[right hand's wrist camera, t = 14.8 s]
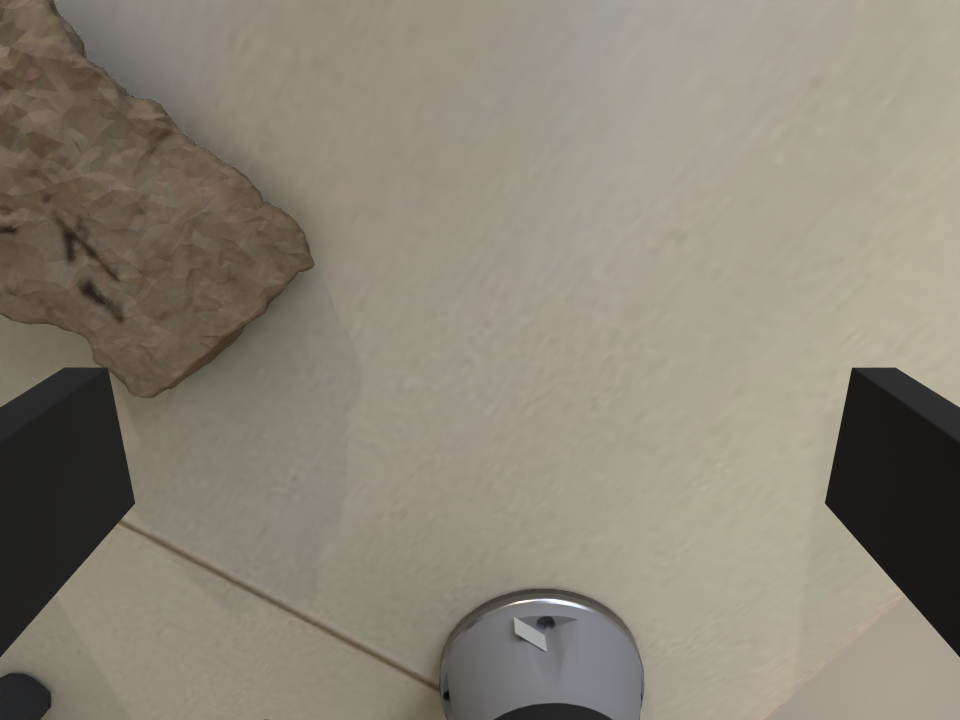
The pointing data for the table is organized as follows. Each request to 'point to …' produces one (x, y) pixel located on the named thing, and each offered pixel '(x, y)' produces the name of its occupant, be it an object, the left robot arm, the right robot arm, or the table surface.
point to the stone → (123, 215)
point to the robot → (22, 698)
